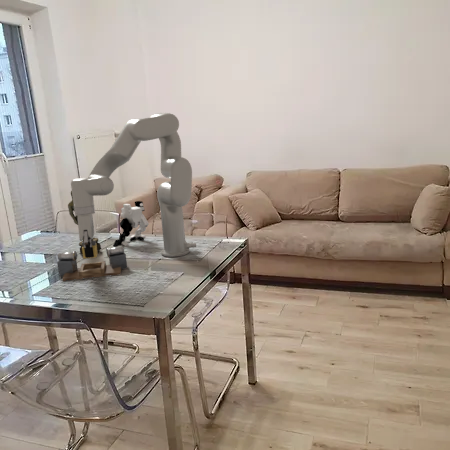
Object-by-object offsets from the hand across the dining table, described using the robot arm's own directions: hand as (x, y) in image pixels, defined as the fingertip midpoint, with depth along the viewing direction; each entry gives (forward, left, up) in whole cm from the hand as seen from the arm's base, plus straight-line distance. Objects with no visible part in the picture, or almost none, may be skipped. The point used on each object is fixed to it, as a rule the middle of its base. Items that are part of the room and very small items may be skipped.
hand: (90, 254), depth 187 cm
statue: (+4, -30, -8) cm, 31 cm away
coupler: (0, 0, -1) cm, 1 cm away
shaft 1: (+9, -3, -8) cm, 12 cm away
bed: (0, 0, -8) cm, 8 cm away
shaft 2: (-10, -3, -8) cm, 13 cm away
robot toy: (-15, -40, -8) cm, 44 cm away
